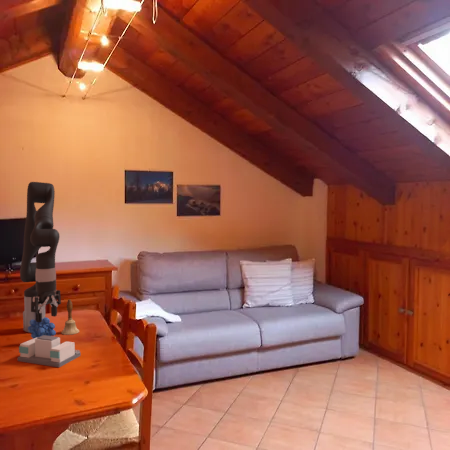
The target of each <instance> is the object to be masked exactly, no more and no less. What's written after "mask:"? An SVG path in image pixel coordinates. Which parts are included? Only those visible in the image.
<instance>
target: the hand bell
mask: <svg viewBox="0 0 450 450" xmlns="http://www.w3.org/2000/svg"><path fill="white" fill-rule="evenodd" d="M66 311H67V320H65V323H64V328H63V330H61V332H60V333H61V335H64V336H70V335H76V334H78V333H80V329H78V328H77V325H76V321H75V320H74V319H73V314H72V312H73V302H72V299H67V302H66Z"/></svg>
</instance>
